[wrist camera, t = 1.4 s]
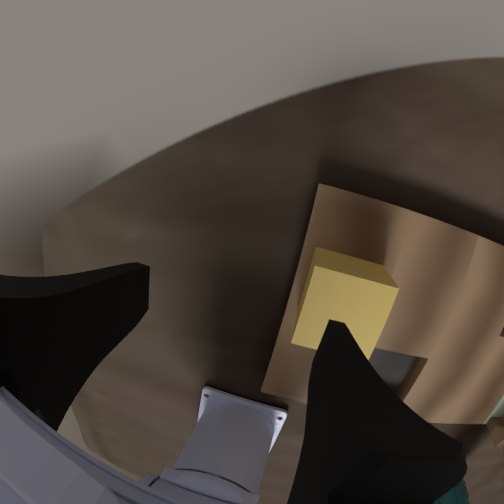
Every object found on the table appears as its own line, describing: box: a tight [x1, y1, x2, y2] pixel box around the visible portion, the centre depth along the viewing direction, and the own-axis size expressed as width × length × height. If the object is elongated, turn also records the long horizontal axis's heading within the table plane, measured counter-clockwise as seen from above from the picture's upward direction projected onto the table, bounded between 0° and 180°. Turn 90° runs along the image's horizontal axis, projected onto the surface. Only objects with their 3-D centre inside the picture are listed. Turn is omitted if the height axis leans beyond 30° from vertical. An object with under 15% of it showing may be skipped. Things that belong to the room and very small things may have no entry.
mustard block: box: [291, 247, 399, 360], centre depth 16 cm, size 4×4×4 cm
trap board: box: [260, 183, 504, 447], centre depth 16 cm, size 30×16×6 cm, turn 78°
